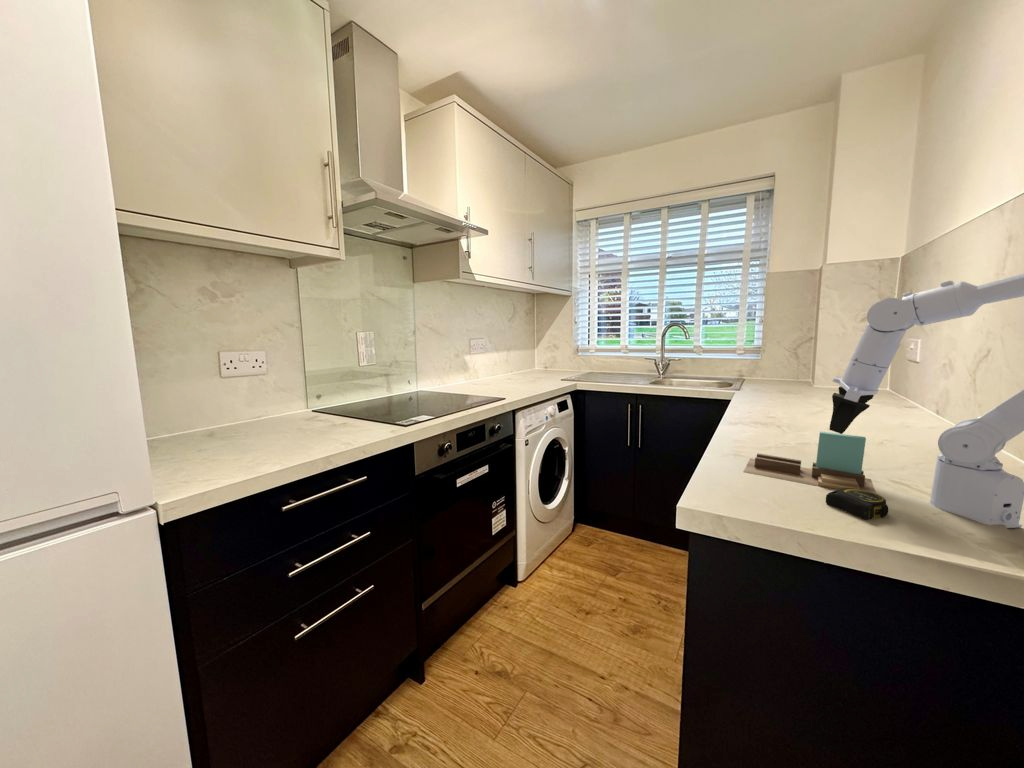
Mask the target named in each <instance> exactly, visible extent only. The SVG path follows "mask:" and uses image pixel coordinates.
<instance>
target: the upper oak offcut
mask: <svg viewBox="0 0 1024 768" xmlns="http://www.w3.org/2000/svg"><path fill="white" fill-rule="evenodd" d="M820 478H821V481H822V482H825V483H831V484H837V485H844V486H850V487H856V488H857V486H858V483H857V481H856V480H855V479H851V478H845V477H838V476H832V475H825V474H821V476H820Z"/></svg>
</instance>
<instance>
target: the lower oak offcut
mask: <svg viewBox="0 0 1024 768" xmlns="http://www.w3.org/2000/svg"><path fill="white" fill-rule="evenodd" d="M818 485H819V486H824V487H830V488H835V489H841V488H854V489H859V485H858V486H857V488H856V487H850V486H844V485H837V484H831V483H825V482H822V481H821V478H820V477H818ZM819 486H818V487H819ZM824 487H823V488H824ZM835 489H834V490H835Z"/></svg>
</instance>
